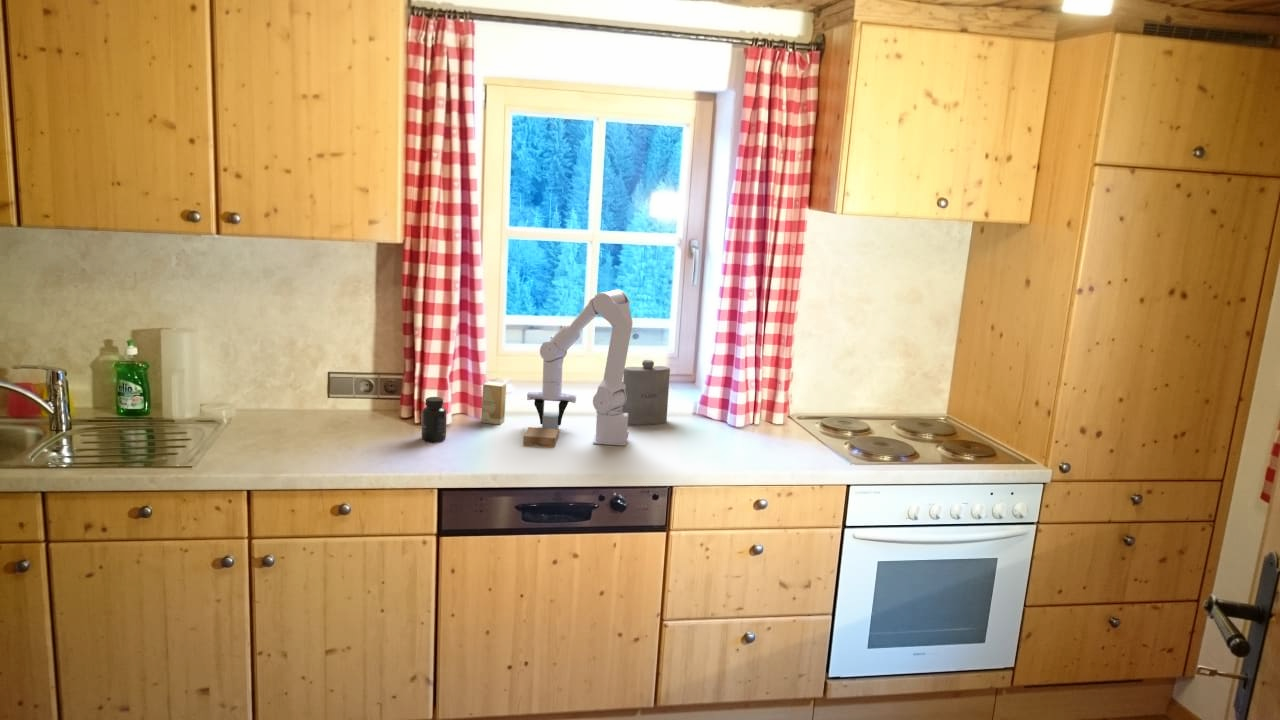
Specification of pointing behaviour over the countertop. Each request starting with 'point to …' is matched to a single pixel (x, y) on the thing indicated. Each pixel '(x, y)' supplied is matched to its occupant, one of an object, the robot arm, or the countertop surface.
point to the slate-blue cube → (550, 420)
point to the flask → (646, 393)
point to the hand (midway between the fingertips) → (550, 423)
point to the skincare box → (493, 402)
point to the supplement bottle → (434, 420)
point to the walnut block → (541, 436)
